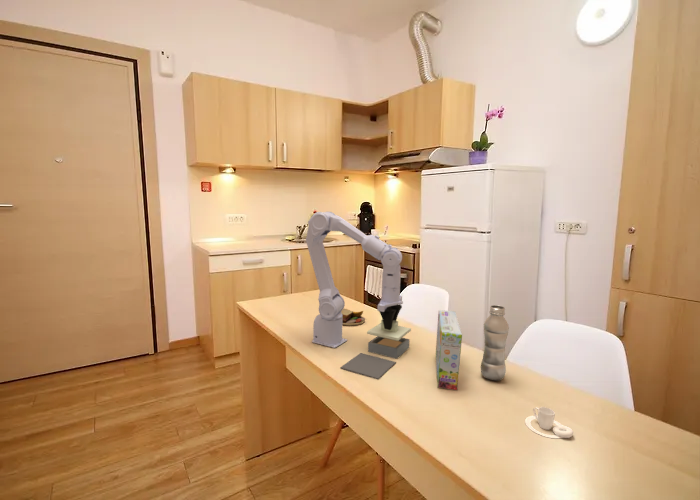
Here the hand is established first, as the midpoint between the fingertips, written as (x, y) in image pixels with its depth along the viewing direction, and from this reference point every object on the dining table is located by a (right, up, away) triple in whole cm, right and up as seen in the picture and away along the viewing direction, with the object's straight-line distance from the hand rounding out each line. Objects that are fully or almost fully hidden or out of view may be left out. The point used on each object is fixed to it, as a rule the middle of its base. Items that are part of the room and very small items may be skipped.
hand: (389, 327), depth 115 cm
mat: (-7, -9, -11) cm, 16 cm away
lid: (0, -1, 0) cm, 1 cm away
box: (0, -7, +1) cm, 7 cm away
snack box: (+15, -10, -13) cm, 22 cm away
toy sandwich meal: (-14, -4, +29) cm, 32 cm away
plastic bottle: (+26, -10, -17) cm, 33 cm away
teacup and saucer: (+28, -14, -41) cm, 52 cm away
